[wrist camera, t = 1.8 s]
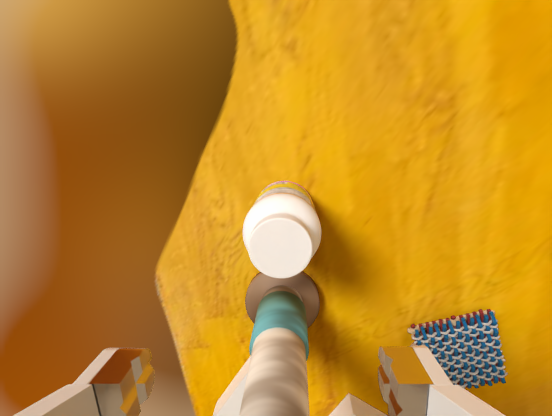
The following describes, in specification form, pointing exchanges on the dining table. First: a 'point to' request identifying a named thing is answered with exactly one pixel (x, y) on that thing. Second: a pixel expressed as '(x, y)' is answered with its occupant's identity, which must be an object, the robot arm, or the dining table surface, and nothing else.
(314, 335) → the dining table surface
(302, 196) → the supplement bottle
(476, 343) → the woven mat
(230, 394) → the notched board
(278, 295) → the bobbin
